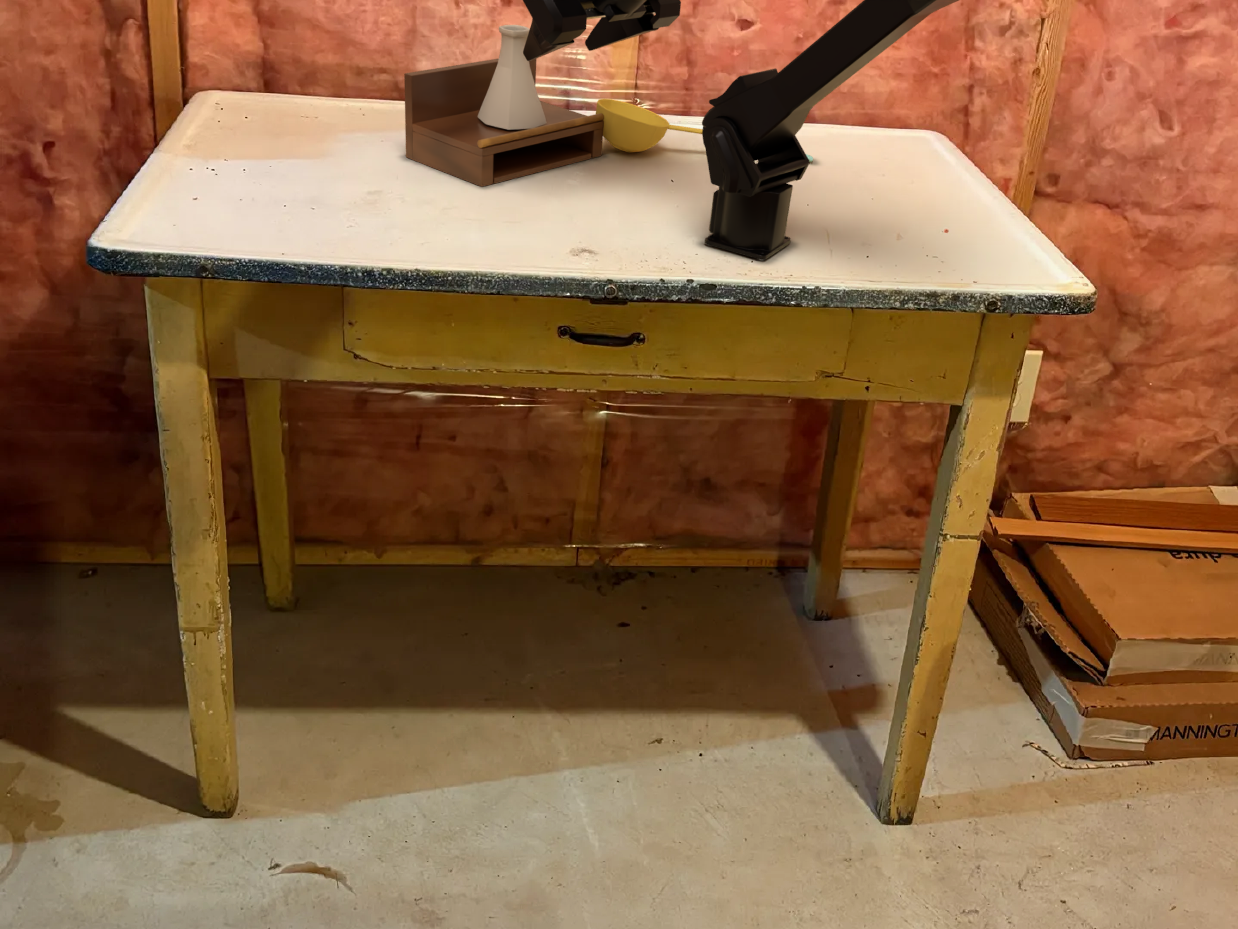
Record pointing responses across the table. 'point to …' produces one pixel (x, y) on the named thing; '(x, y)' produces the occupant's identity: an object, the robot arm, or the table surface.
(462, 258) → the table surface
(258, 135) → the table surface
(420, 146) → the spice rack
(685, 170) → the table surface
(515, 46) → the flask
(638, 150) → the ladle
